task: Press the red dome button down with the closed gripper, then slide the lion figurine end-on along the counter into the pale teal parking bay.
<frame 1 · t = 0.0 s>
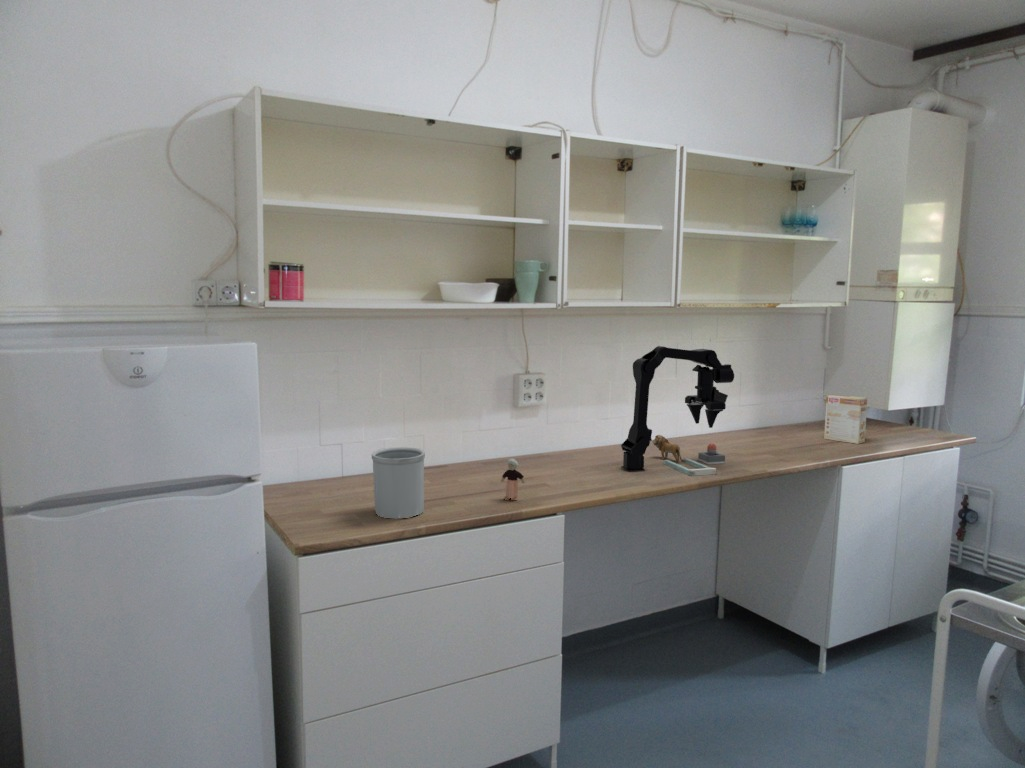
hand: (703, 425, 267), 15 cm above the worktop, fingers open, 9 cm apart
coffeecake box: (844, 441, 315), on the worktop
dome plunger: (711, 448, 272), point 5 cm above the worktop, slide at 0.0 cm
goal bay: (689, 468, 261), on the worktop
utensil holder: (399, 513, 207), on the worktop
lion figurine: (667, 460, 276), on the worktop
grandmother figurine: (512, 500, 220), on the worktop
button housing: (711, 461, 273), on the worktop
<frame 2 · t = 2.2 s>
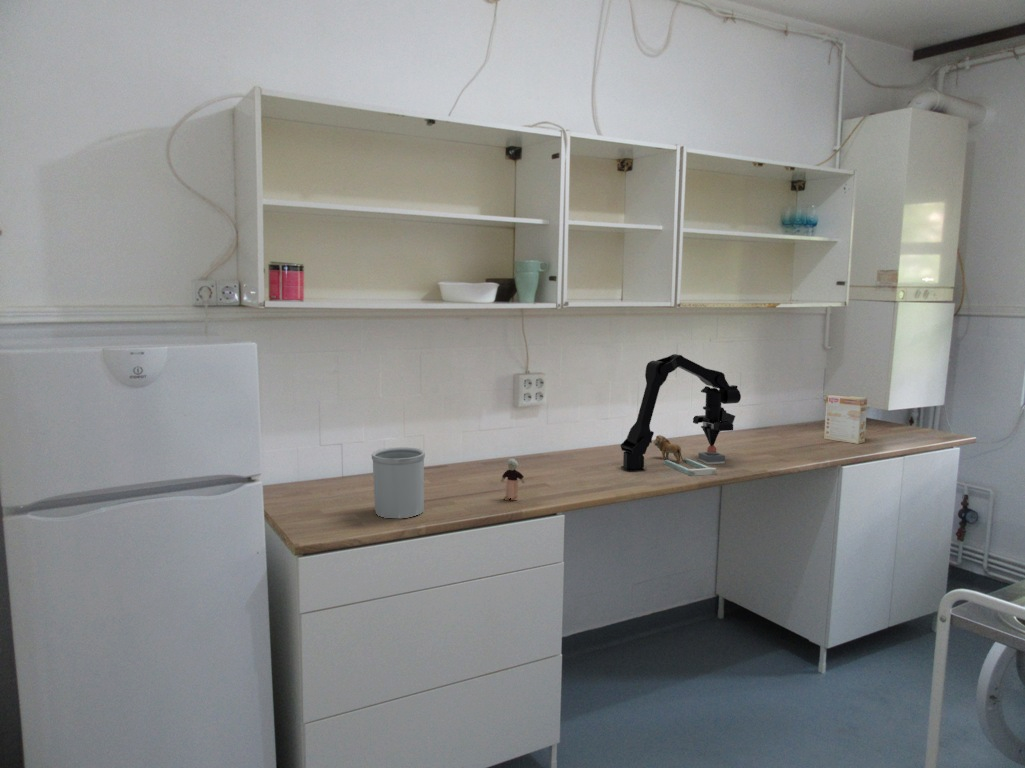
hand: (711, 445, 272), 6 cm above the worktop, fingers closed, pressing on dome plunger
dome plunger: (711, 450, 272), point 4 cm above the worktop, slide at 0.7 cm, touching gripper
everything else where it was.
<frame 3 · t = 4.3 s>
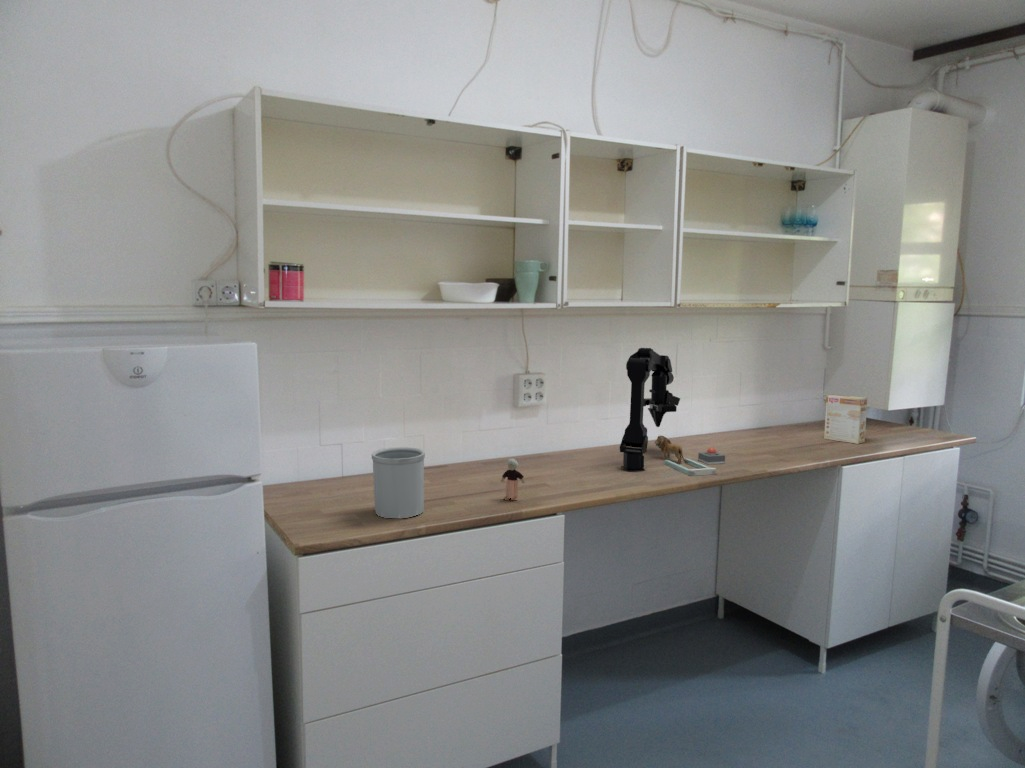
hand: (657, 426, 284), 11 cm above the worktop, fingers closed
dome plunger: (711, 452, 272), point 4 cm above the worktop, slide at 1.5 cm
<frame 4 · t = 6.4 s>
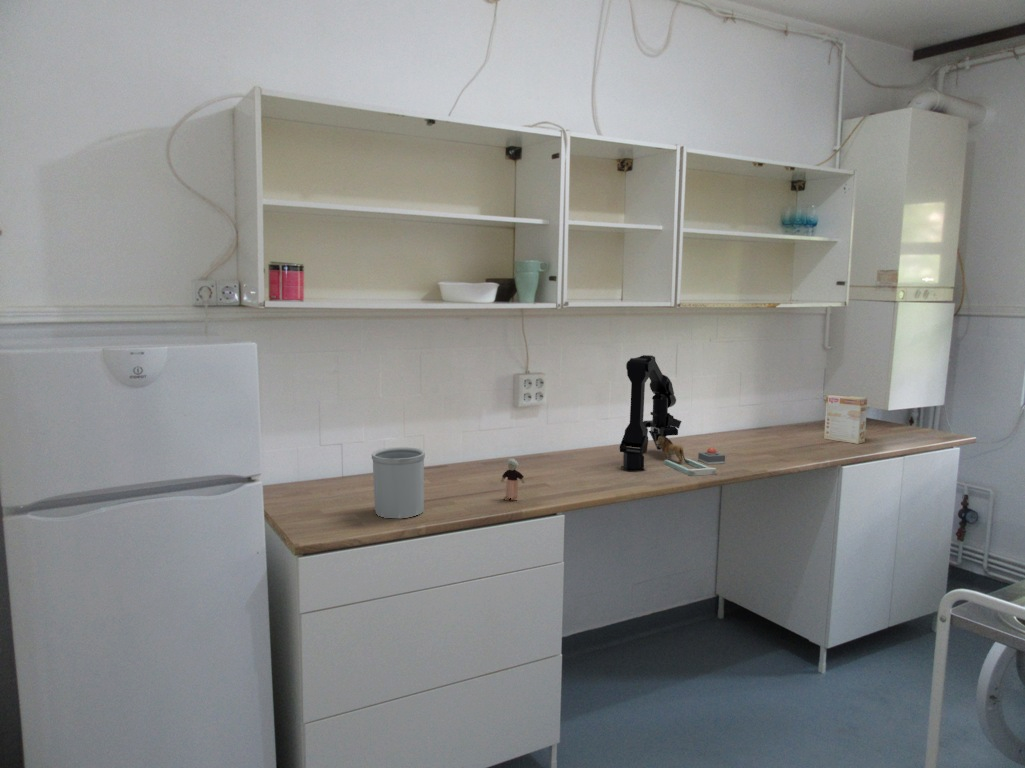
hand: (658, 449, 283), 2 cm above the worktop, fingers closed
lion figurine: (671, 461, 274), on the worktop, touching gripper
everything else where it was.
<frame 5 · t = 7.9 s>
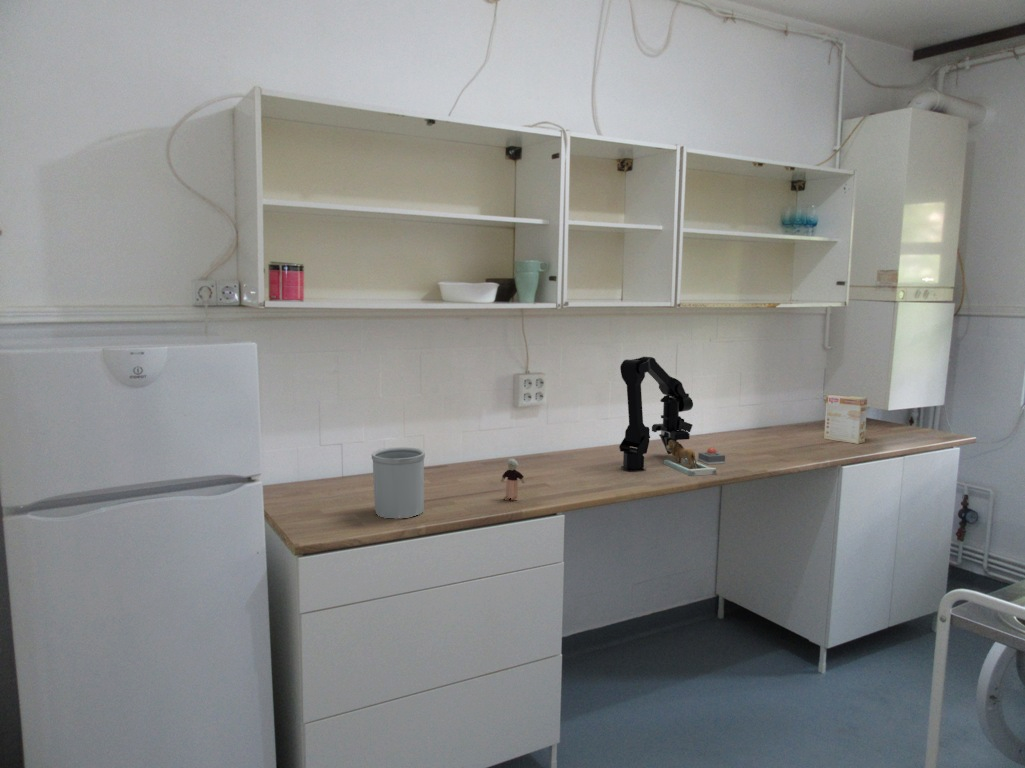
hand: (669, 453, 275), 2 cm above the worktop, fingers closed
lion figurine: (682, 466, 266), resting in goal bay, touching gripper
everything else where it was.
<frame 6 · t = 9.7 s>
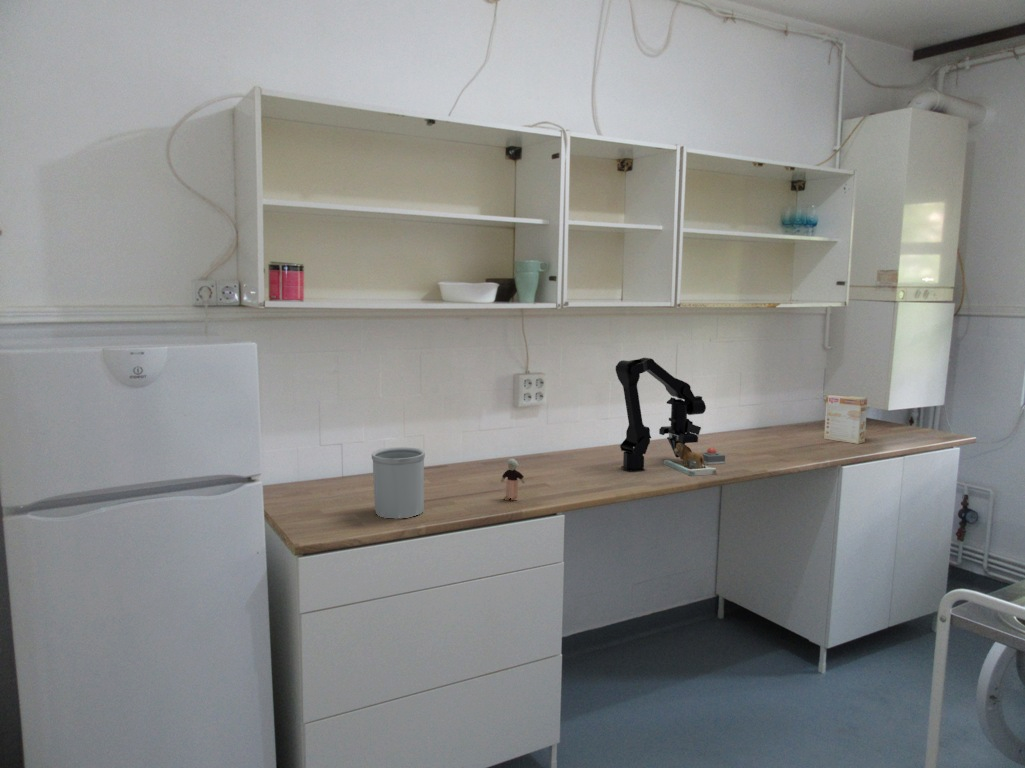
hand: (677, 457, 269), 2 cm above the worktop, fingers closed
lion figurine: (690, 470, 260), resting in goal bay, touching gripper
everything else where it was.
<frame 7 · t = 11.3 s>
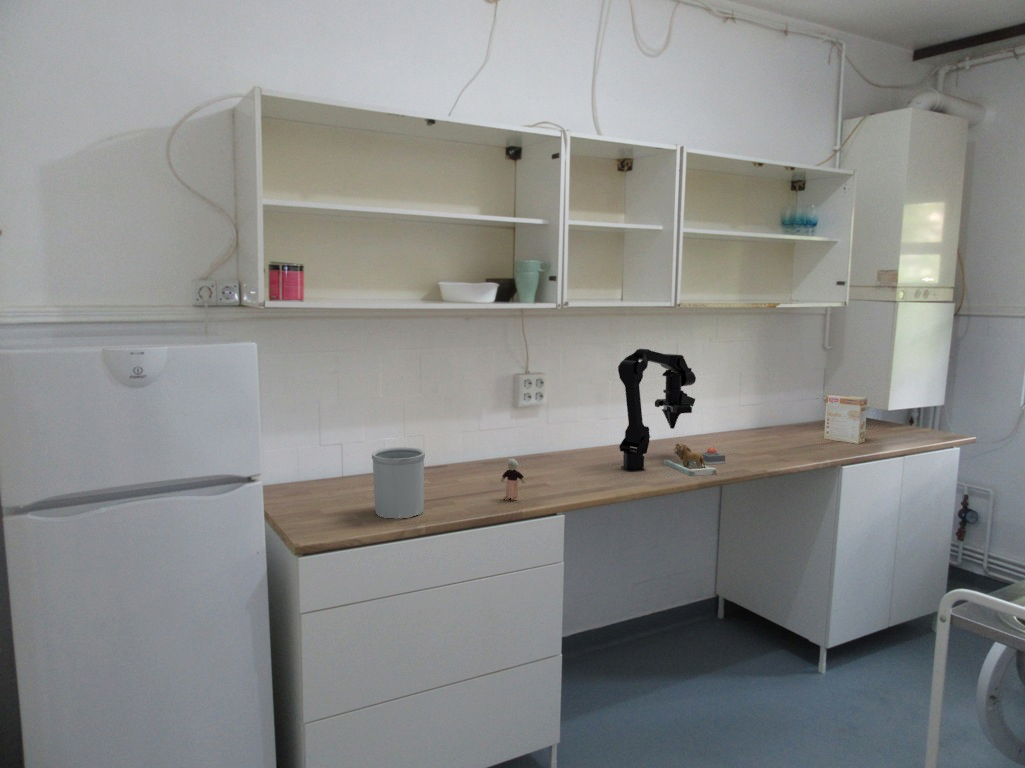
hand: (672, 428, 274), 12 cm above the worktop, fingers closed
lion figurine: (690, 470, 260), resting in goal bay
everything else where it was.
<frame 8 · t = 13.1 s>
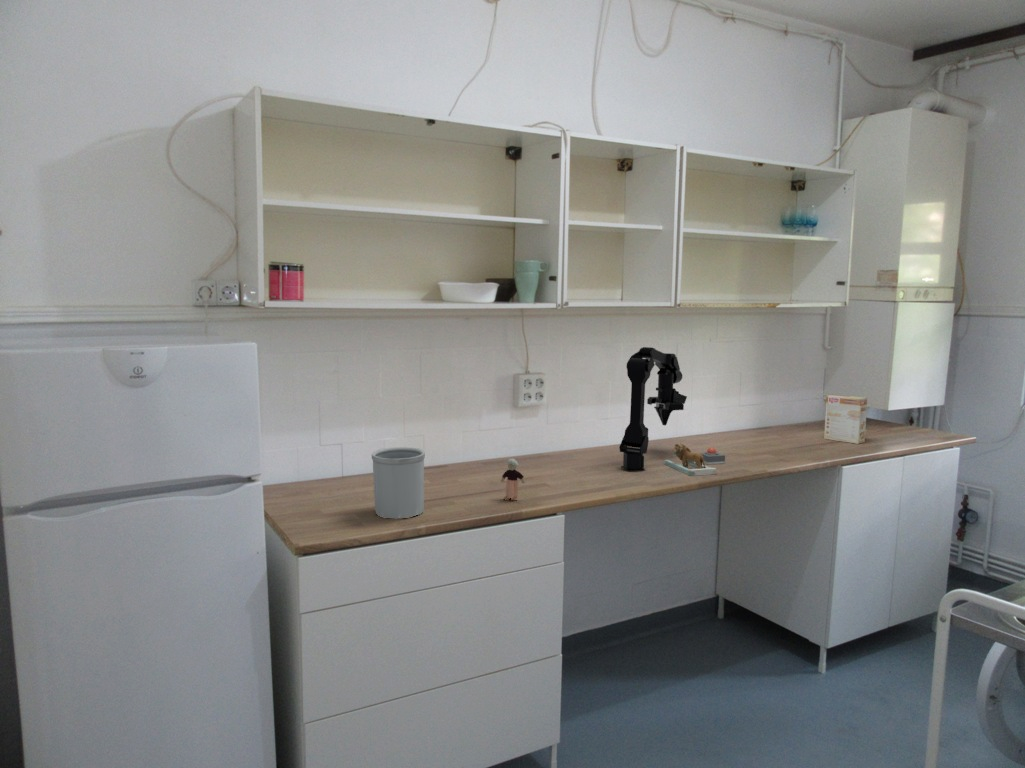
hand: (664, 425, 282), 12 cm above the worktop, fingers closed
nothing on the worktop moved.
at the end: lion figurine inside the target area on the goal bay (1.4 cm from its centre), point 0.0 cm above the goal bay's base; lion figurine tilted 0°; dome plunger slide at 1.5 cm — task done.
